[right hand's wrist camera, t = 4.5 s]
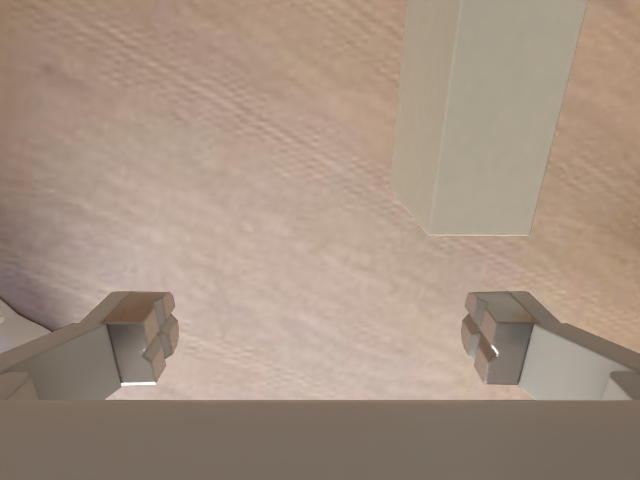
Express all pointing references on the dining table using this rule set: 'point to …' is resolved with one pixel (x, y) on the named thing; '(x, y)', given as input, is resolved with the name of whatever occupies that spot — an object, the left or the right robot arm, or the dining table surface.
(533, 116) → the bar
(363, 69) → the dining table surface
